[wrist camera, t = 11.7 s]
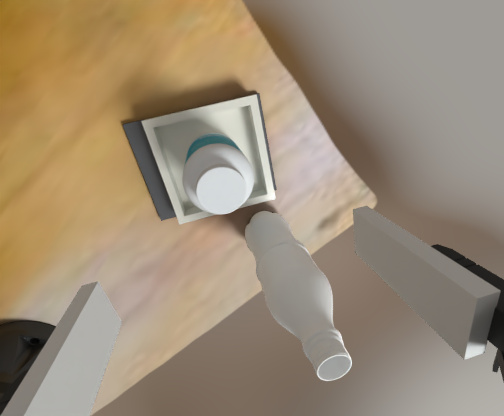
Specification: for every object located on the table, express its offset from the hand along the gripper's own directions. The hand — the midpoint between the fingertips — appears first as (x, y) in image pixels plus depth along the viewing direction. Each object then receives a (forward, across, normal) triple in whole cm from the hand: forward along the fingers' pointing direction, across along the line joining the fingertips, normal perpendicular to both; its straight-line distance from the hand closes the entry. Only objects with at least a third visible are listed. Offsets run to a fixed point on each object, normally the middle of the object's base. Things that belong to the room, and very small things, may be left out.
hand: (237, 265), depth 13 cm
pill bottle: (+25, 0, 0) cm, 25 cm away
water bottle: (+26, +5, -13) cm, 30 cm away
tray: (+26, 0, 0) cm, 26 cm away
